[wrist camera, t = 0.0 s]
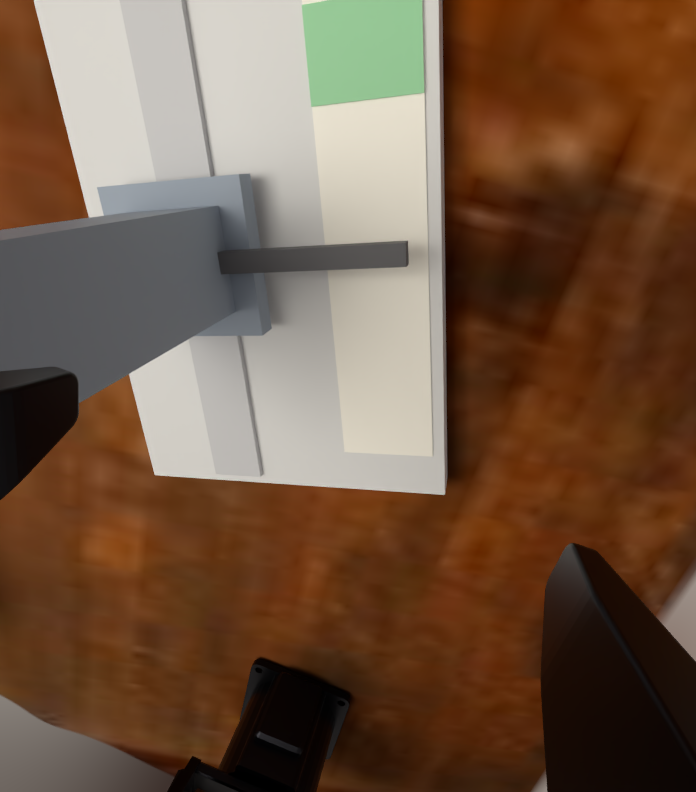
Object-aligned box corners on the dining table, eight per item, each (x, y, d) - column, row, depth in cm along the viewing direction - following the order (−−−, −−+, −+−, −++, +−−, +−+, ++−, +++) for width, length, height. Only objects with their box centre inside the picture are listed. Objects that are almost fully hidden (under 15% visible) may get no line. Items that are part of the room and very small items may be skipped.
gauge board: (447, 477, 25) (444, 498, 24) (170, 460, 29) (151, 478, 28) (440, -204, 16) (434, -243, 15) (36, -98, 20) (-3, -119, 18)
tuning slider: (415, 327, 21) (332, 502, 10) (146, 330, 24) (-136, 467, 13) (409, 158, 18) (294, 154, 8) (113, 186, 21) (-262, 210, 11)
